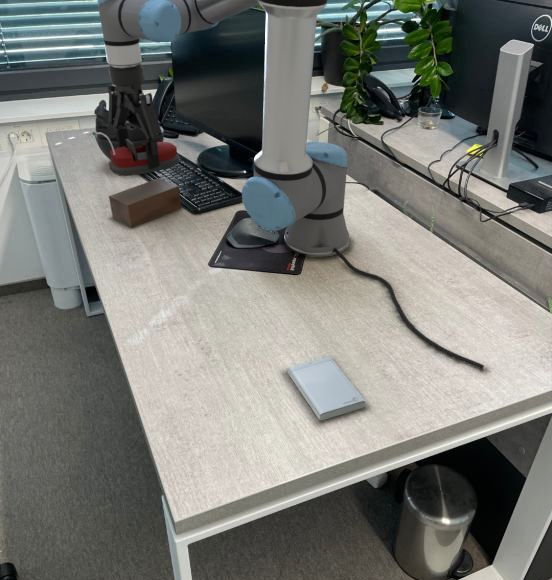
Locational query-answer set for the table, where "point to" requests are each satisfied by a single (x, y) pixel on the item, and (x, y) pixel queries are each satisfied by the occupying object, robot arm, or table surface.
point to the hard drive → (326, 388)
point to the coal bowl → (104, 127)
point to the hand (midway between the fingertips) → (139, 161)
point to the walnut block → (145, 202)
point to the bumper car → (140, 158)
